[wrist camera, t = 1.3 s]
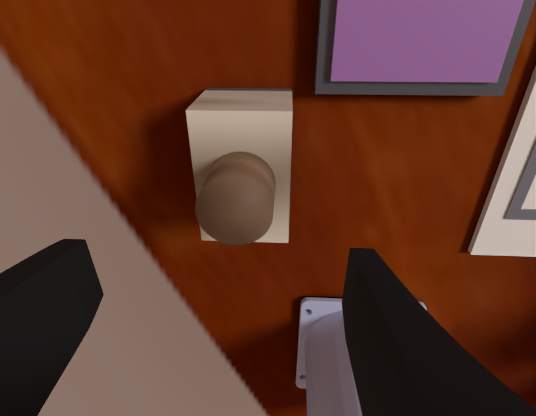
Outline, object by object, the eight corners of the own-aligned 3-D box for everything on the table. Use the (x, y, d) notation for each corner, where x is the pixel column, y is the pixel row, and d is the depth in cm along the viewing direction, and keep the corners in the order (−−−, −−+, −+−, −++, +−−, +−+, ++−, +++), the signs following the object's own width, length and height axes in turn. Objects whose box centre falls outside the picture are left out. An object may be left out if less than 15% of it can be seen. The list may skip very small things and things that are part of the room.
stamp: (288, 199, 19) (287, 278, 14) (217, 198, 19) (188, 275, 14) (291, 88, 16) (292, 132, 11) (207, 87, 16) (165, 130, 11)
